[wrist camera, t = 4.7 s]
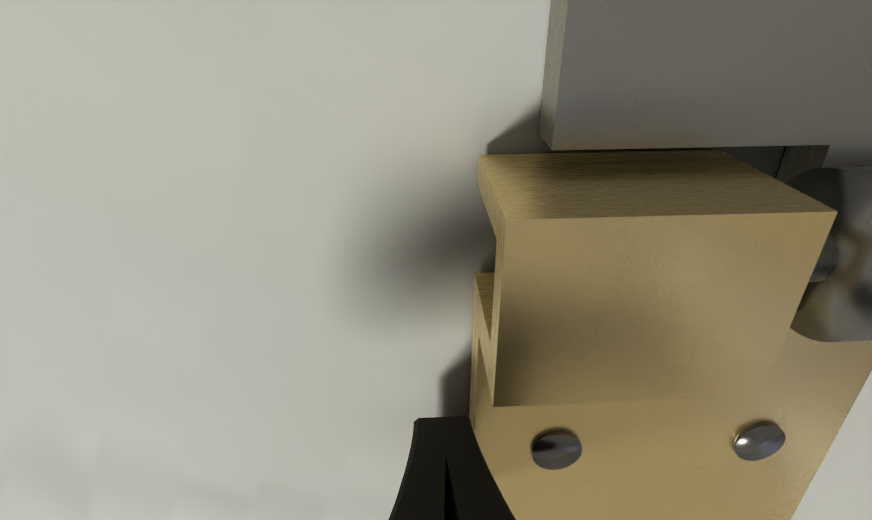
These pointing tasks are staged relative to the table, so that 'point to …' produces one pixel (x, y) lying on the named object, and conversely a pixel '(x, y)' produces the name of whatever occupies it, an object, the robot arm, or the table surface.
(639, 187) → the tan hinge plate
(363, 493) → the table surface
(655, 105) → the fixed leaf
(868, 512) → the table surface
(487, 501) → the robot arm
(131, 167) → the table surface
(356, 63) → the table surface
